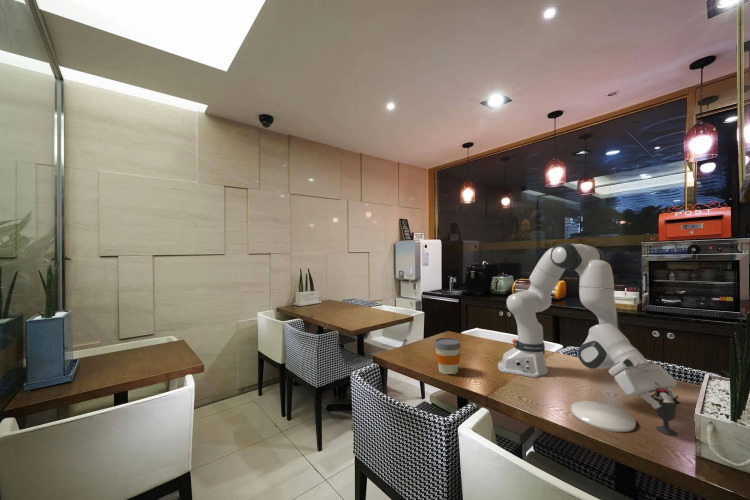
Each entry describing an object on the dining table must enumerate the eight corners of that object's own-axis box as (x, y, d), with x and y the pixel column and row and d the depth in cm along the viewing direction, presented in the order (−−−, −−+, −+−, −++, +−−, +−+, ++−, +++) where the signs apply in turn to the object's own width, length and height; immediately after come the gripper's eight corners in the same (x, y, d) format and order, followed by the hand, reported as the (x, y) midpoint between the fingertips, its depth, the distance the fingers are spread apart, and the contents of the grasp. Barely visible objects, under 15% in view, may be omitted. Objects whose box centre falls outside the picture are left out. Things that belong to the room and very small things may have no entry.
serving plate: (579, 427, 99) (579, 423, 99) (565, 401, 116) (564, 398, 116) (647, 436, 94) (647, 432, 94) (621, 408, 111) (621, 404, 111)
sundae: (646, 426, 99) (644, 380, 99) (664, 424, 100) (662, 379, 100) (667, 438, 92) (665, 389, 93) (687, 436, 93) (685, 387, 93)
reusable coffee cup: (451, 378, 140) (450, 346, 141) (430, 371, 150) (429, 341, 150) (466, 371, 149) (465, 340, 149) (445, 364, 158) (444, 336, 158)
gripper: (645, 364, 110) (680, 403, 101) (604, 372, 104) (637, 414, 95) (659, 356, 106) (697, 396, 96) (617, 363, 100) (653, 407, 90)
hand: (667, 405), depth 95 cm, fingers closed on sundae, 7 cm apart
